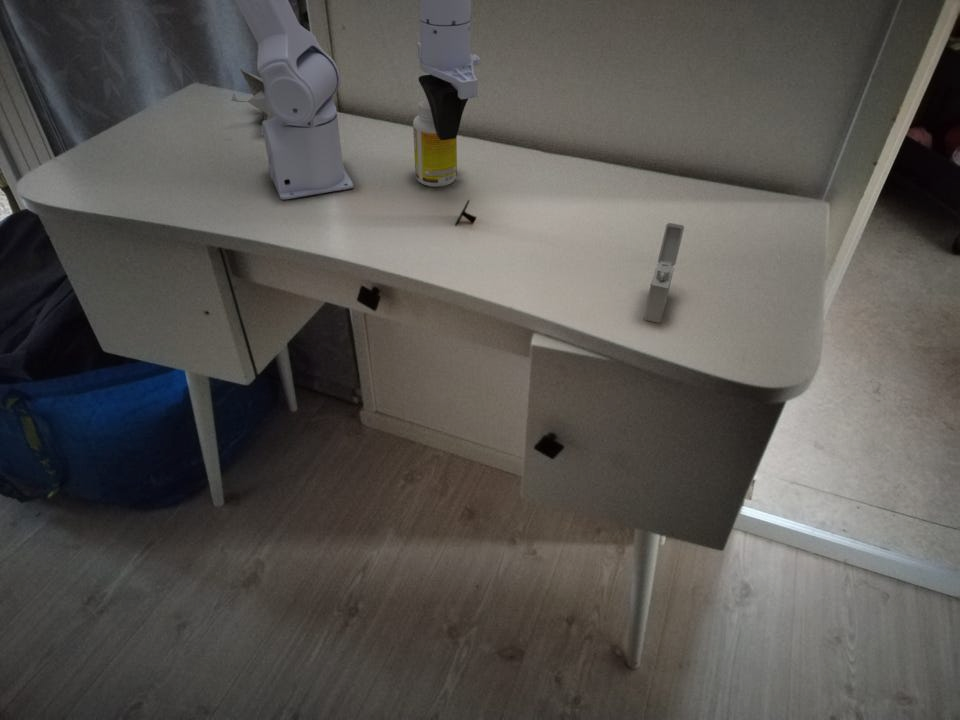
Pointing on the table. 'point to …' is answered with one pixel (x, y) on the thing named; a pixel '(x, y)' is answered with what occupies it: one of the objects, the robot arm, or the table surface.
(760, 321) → the table surface
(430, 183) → the supplement bottle
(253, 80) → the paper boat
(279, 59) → the robot arm
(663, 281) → the lighter
